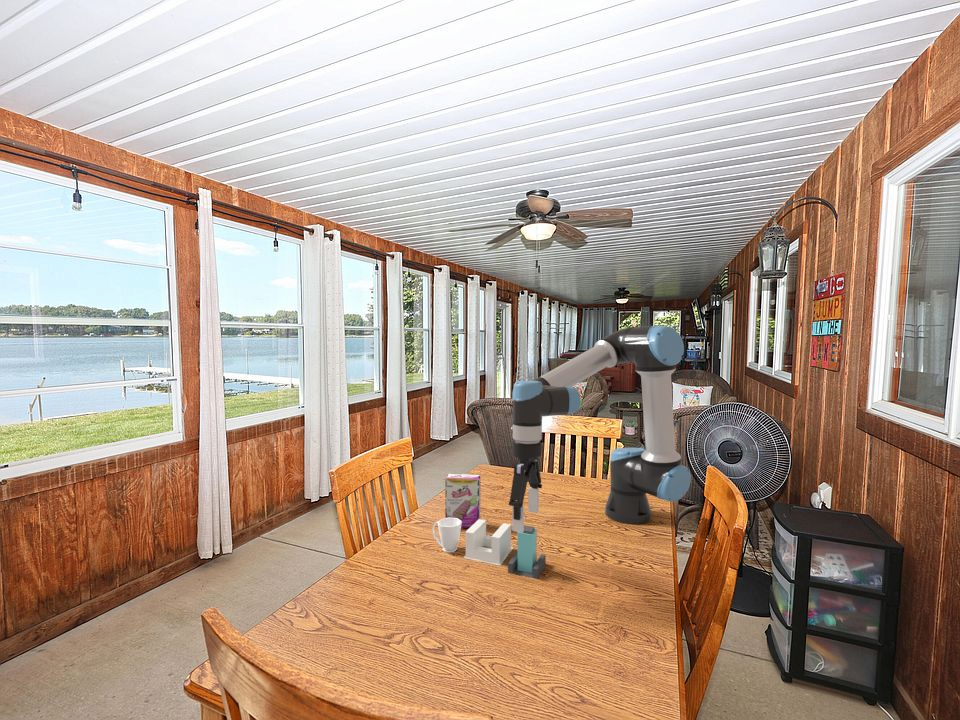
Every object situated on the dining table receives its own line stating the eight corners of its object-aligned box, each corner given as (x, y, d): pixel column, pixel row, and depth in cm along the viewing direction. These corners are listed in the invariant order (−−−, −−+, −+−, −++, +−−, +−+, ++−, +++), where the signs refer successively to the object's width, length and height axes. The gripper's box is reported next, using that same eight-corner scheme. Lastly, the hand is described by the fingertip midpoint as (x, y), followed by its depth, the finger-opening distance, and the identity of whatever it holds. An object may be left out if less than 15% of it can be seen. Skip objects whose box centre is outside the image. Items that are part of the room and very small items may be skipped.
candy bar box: (445, 528, 141) (444, 477, 141) (447, 521, 146) (447, 473, 146) (479, 529, 140) (479, 478, 140) (481, 522, 145) (480, 474, 145)
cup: (451, 557, 122) (451, 529, 122) (425, 547, 128) (424, 520, 128) (467, 547, 128) (466, 520, 127) (441, 538, 134) (440, 512, 133)
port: (513, 549, 127) (513, 523, 126) (500, 567, 117) (500, 539, 116) (478, 542, 131) (478, 517, 131) (462, 559, 121) (462, 532, 121)
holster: (545, 565, 117) (545, 555, 117) (537, 581, 110) (537, 569, 110) (517, 560, 120) (517, 549, 120) (507, 574, 113) (507, 563, 113)
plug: (536, 565, 116) (536, 526, 116) (532, 573, 113) (532, 532, 112) (522, 562, 118) (522, 524, 117) (517, 570, 114) (517, 530, 114)
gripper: (527, 430, 127) (526, 503, 127) (496, 449, 104) (495, 537, 104) (552, 432, 124) (551, 507, 124) (526, 452, 101) (525, 543, 102)
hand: (526, 521), depth 114 cm, fingers open, 13 cm apart
